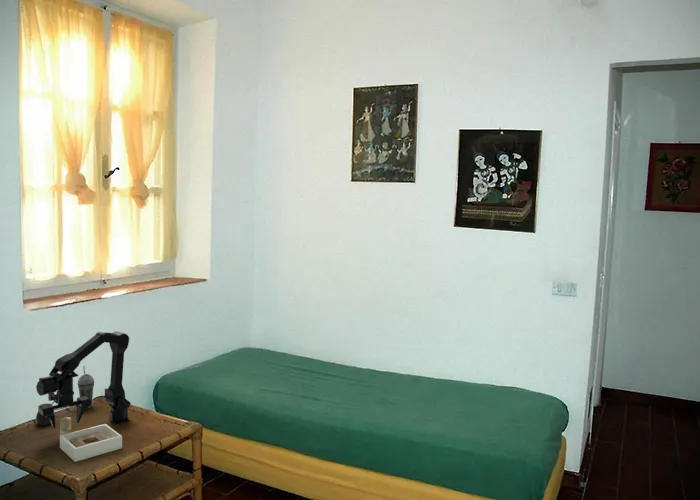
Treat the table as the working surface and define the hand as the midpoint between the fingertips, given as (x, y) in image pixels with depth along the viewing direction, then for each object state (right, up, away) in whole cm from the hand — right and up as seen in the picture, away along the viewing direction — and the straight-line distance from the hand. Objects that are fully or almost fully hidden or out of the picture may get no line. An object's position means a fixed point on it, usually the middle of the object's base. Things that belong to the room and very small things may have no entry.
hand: (65, 425), depth 237 cm
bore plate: (+14, -5, -8) cm, 17 cm away
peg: (0, -5, 0) cm, 5 cm away
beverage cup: (-7, -2, +34) cm, 35 cm away
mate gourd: (-16, -3, +15) cm, 22 cm away
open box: (+14, -6, -8) cm, 17 cm away
